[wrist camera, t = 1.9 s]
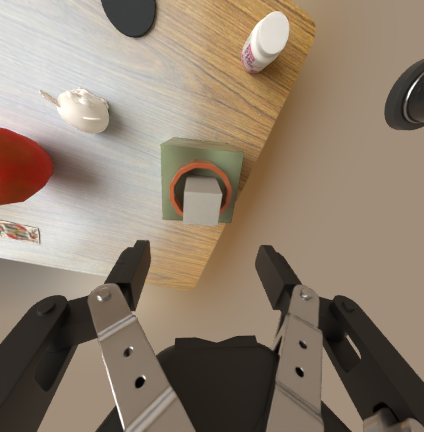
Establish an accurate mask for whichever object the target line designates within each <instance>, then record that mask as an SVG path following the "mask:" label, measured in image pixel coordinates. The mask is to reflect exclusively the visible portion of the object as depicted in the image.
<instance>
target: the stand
mask: <svg viewBox="0 0 424 432" xmlns="http://www.w3.org/2000/svg"><path fill="white" fill-rule="evenodd" d="M243 157H244V153H243V152H241V151H239V150H238V149H236V148H234V147H232V146H231V145H229V144H227V143H219V142H210V141H201V140H192V139H184V138H175V137H173V138H171V139H170V140H168V141H166V142H164V143H162V144H161V176H162V212H163V220H180V221H183V216H181V215H179V214H178V213H177V212H176V210H175V209H174V207H173V205H172V204H171V202H170V200H169V185H170V182H171V180H172V178H173V176H174V175H175V173H176V172H177V170H178V169H179V167H180V166H181V165H184V164H186V163H188V162H190V161H192V160H195V159H198V160H208V161H212V162H213V163H215V164H216V165H217V166H219V167H220V168H221V169H223V171H224V172H225V174H226V175H227V177H228V180H229V182H230V185H231V187H232V194H231V200H230V204H229V206H228V207H227V208H226V210H225V211H224V212H223V213H222V214H221V216H219V221H218V223H231V221H232V215H233V210H234V205H235V200H236V194H237V189H238V184H239V179H240V173H241V168H242V163H243ZM187 174H190V175H202V176H213V177H216V179H217V182H218V185H219V187H220V190H221V192H222V198H223V195H224V188H225V184H224V181H223V179H222V177H221V176H219V175H218V174H217V173H215V172H214V171H213V170H211V169H204V168H194V169H192V170H190V171H188V172H185V173H183V174H182V175H181V176H180V178H179V179H178V181H177V183H176V194H177V196H178V198H179V200H180V201H181V203H182V204H183V205H184V190H185V184H186V179H187Z"/></svg>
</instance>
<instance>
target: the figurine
mask: <svg viewBox="0 0 424 432" xmlns="http://www.w3.org/2000/svg"><path fill="white" fill-rule="evenodd" d="M39 93H40V94H41V95H42V96H43V97H44V98H46V99H47V100H48V101H50V102H51V103H53V104H54V105H56V106H57V109H58V111H59V113H60V115H61V116H62V118H63V119H64V120H65V121H66V122H67V123H69V124H70V125H71V126H73V127H74V128H76V129H78V130H80V131H83V132H86V133H92V134H96V133H100V132H102V131H104V130H105V129H106V127H107V126H108V123H109V113H108V110H107V109H108V108H109V106H108V104H107V101H106V100H104V99H102V98H99V99H98V98H97V97H96V96H94V95H92V94H90V93H89V92H87V91H86V90H85V89H83V88H79V89H77V90H67V91H66V92H64V93H62V94H61V95H60V96H59V97H58V99H55V98H54V97H52V96H51V95H49V94H47V93H46V92H44V91H41V90H39Z"/></svg>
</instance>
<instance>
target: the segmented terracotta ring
mask: <svg viewBox="0 0 424 432" xmlns="http://www.w3.org/2000/svg"><path fill="white" fill-rule="evenodd" d="M194 168H204V169H211V170H213V171H214V172H215V173H217V174H218V175H219V176H221V177H222V179H223V181H224V184H225V188H224V195H223V198H222V200H221V207H220V214H219V216H221V214H222V213H223V212H224V211H225V210H226V208H227V207H228V206H229V204H230V200H231V194H232V187H231V185H230V182H229V180H228V177H227V175H226V174H225V172H224V171H223V169H221V168H220V167H219V166H217V165H216V164H215V163H213V162H212V161H208V160H198V159H195V160H192V161H190V162H188V163H186V164H184V165H181V166H180V167H179V169H178V170H177V172H176V173H175V175H174V176H173V178H172V180H171V182H170V185H169V200H170V202H171V204H172V205H173V207H174V209H175V210H176V212H177V213H178V214H179V215H181V216H183V211H184V205H183V204H182V203H181V201H180V200H179V198H178V196H177V194H176V183H177V181H178V179H179V178H180V176H181V175H182V174H183V173H185V172H188V171H190V170H192V169H194Z"/></svg>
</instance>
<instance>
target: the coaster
mask: <svg viewBox="0 0 424 432" xmlns="http://www.w3.org/2000/svg"><path fill="white" fill-rule="evenodd" d="M101 2H102V6H103V8H104V11H105V13H106V15H107V17H108V18H109V20H110V21H111V23H112V24H113V25H114V26H115V27H116V28H117V29H118V30H119V31H120V32H121V33H123V34H125V35H127V36H130V37H140V36H142V35H144V34H146V33H147V32H148V31H149V29H150V28H151V26H152V24H153V21H154V18H155V0H101Z"/></svg>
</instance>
